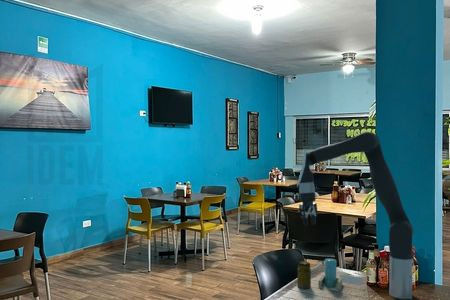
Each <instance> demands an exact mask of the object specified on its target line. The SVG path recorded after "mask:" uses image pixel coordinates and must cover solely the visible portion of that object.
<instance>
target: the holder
mask: <svg viewBox="0 0 450 300" xmlns="http://www.w3.org/2000/svg"><path fill="white" fill-rule="evenodd" d="M343 286H344V283H343V282H342V278H340V277H339V276H336V287H334V288H329V287H326V286H325V274H322V275H321V277H320V278H319V280H318V286H317V288H319V289H324V290H331V291H335V292H336V291H337V292H341V290H342V287H343Z"/></svg>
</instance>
